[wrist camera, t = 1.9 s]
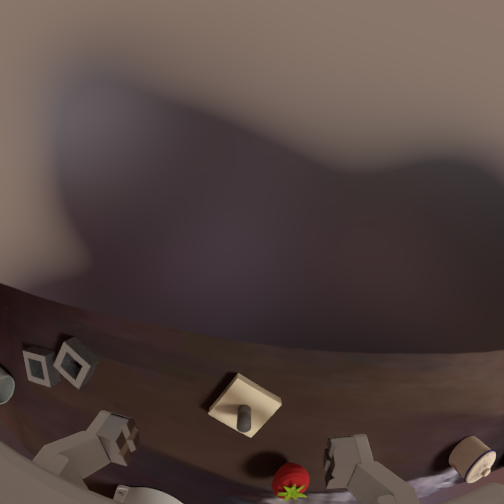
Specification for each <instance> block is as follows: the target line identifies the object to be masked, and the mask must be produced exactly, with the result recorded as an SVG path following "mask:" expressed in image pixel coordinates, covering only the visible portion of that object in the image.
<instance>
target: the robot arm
mask: <svg viewBox="0 0 504 504" xmlns="http://www.w3.org/2000/svg"><path fill="white" fill-rule="evenodd" d="M134 426H135V421H134V419H132V418H128V417H125V416H121V415H118V414H115V413H111V412H108V411H105V410H103V411H101V412H100V413H99V414H98V415H97V417H96V418H95V419H94V421H93V422H92V423H91V425H90V426H89V428H88V429H87V430H86V432H85V431H81V432H78V433H76V434H73V435H71V436H68V437H66V438H63V439H60V440H58V441H55V442H52V443H50V444H47V445H44V447H43V448H42V449H41V450H40V451H39V453H38V454H37V455H36V456H35V458H34V459H33V460H32V461H31V460H29V459H28V458H26V457H24V456H22V455H21V454H20V453H18V452H16V451H15V450H13V449H12V448H10V447H9V446H7V445H6V444H5V443H3V442H1V441H0V504H182V503H181V502H180V501H179V500H177V499H176V498H174V497H172V496H170V495H168V494H166V493H164V492H161V491H158V490H155V489H151V488H144V487H128V486H124V485H118V486H117V489H116V492H115V495H114V498H113V499H110V498H108V497H105V496H102V495H100V494H97V493H95V492H92V491H90V490H88V487H87V486H86V484H85V483H84V481H83V480H82V479H84V478H85V477H87V476H89V475H91V474H92V473H94V472H96V471H97V470H99V469H100V468H102V467H104V466H105V465H107V464H109V463H110V461H111V462H114V463H118V464H121V465H125V466H128V464H129V462H130V460H131V458H132V453H131V452H132V451H134V450H136V448H137V446H138V444H139V433H138V431H137V430H136V429H135V428H134ZM327 445H328V448H326V449H325V452H324V459H323V460H324V469H325V470H326V471H327V472H326V475H325V481H326V489H330V488H345V487H347V489H348V491H349V492H350V493H351V494H352V495H353V496H354V497H355V498H356V499H357V500H358V501H359V502H360V503H361V504H419V501H418V498H417V495H416V492H415V489H414V488H413V487H412V486H410V485H409V484H408V483H406V482H405V481H403V480H402V479H401V478H399V477H398V476H396V475H395V474H394V473H392V472H391V471H389V470H388V469H387V468H385V467H384V466H383V465H381V464H380V463H379V462H374V460H373V457H372V453H371V450H370V446H369V443H368V440H367V436H366V435H365V434H361V435H349V436H337V437H329V438H328V441H327ZM441 504H504V485H500V484H497V483H490V484H487V485H485V486H483V487H481V488H478V489H476V490H474V491H472V492H470V493H467V494H465V495H462V496H460V497H457V498H455V499H452V500H449V501H447V502H444V503H441Z"/></svg>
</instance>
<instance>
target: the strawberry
mask: <svg viewBox="0 0 504 504" xmlns="http://www.w3.org/2000/svg"><path fill="white" fill-rule="evenodd" d="M308 485H309V474H308V472H307V471H306V470H305V469H304V467H302V466H301V465H299V464H295V463H285V464H284V465H283V466H281V467H280V469H279V470H278V471H277V472H276V474H275V476H274V479H273V482H272V489H273V491H274V494H275V495H276V496H277V497H279V498H282V499H284V500H283V501H286V500H288V499H292V498H295V499H296V500H297V497H307V496H305V495H304V494H302V493H303V492H304V491H305V490H306V489H307V487H308ZM292 500H293V499H292ZM294 501H295V500H294ZM296 502H297V501H296Z"/></svg>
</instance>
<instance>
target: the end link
mask: <svg viewBox="0 0 504 504" xmlns="http://www.w3.org/2000/svg"><path fill="white" fill-rule="evenodd" d="M72 357H73V358H74V359H75V360H76V361H77V362H78V363H80V364H81V365H82V368H81V369H80V368H79V367H77V366H76V365H75V364H74V363H73V362H72V361H71V358H72ZM99 361H100V359H99V358H98V357H97V356H96V355H95V354H94V353H92V352H91V351H90V350H89V349H88V348H87V347H86V346H85V345H83V344H82V343H81V342H80V341H79V340H78V339H77V338H76V337H73V338H71V339H68V340H66V341H64V343H63V345H62V347H61V349H60V351H59V354H58V356H57V358H56V361H55V363H54V365H53V366H54V367H55V368H56V369H57V370H58V371H59V372H60V373H61V374H62V375H63V376H64V377H65V378H66V379H67V380H69V381H70V382H71V383H72V384H73V385H74V386H75V387H76V388H77V389H80V388H81V387H82V386H84V385H85V384H86V383H88V381H89V379H90V377H91V376H92V374H93V372H94V370H95V368H96V366H97V365H98V363H99Z"/></svg>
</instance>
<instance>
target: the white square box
mask: <svg viewBox="0 0 504 504" xmlns="http://www.w3.org/2000/svg"><path fill="white" fill-rule="evenodd" d="M23 356H24V361H25V366H26V371H27V375H28V380H29V381H32V382H35V383H38V384H41V385H44V386H48V387H52V386H54V385H55V384H57V383H58V382H60V381H61V380H60V374H59V371H58V370H57V369H56V368H55V367H54V366H53V365H54V363H55V361H56V351H53V350H48V349H44V348H40V347H36V346H32V347H30V348H27V349H25V350H23ZM40 361H41V364H42V369H43V371H42V369H41V364H40Z"/></svg>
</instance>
